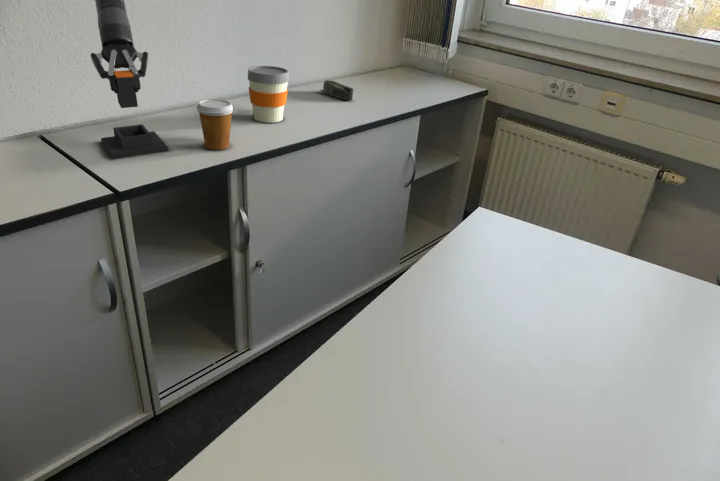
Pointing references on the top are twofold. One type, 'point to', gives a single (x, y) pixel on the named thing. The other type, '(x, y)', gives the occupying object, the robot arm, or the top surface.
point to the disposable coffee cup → (215, 122)
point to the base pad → (132, 142)
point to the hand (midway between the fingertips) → (126, 90)
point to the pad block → (125, 89)
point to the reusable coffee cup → (268, 92)
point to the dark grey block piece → (338, 90)
